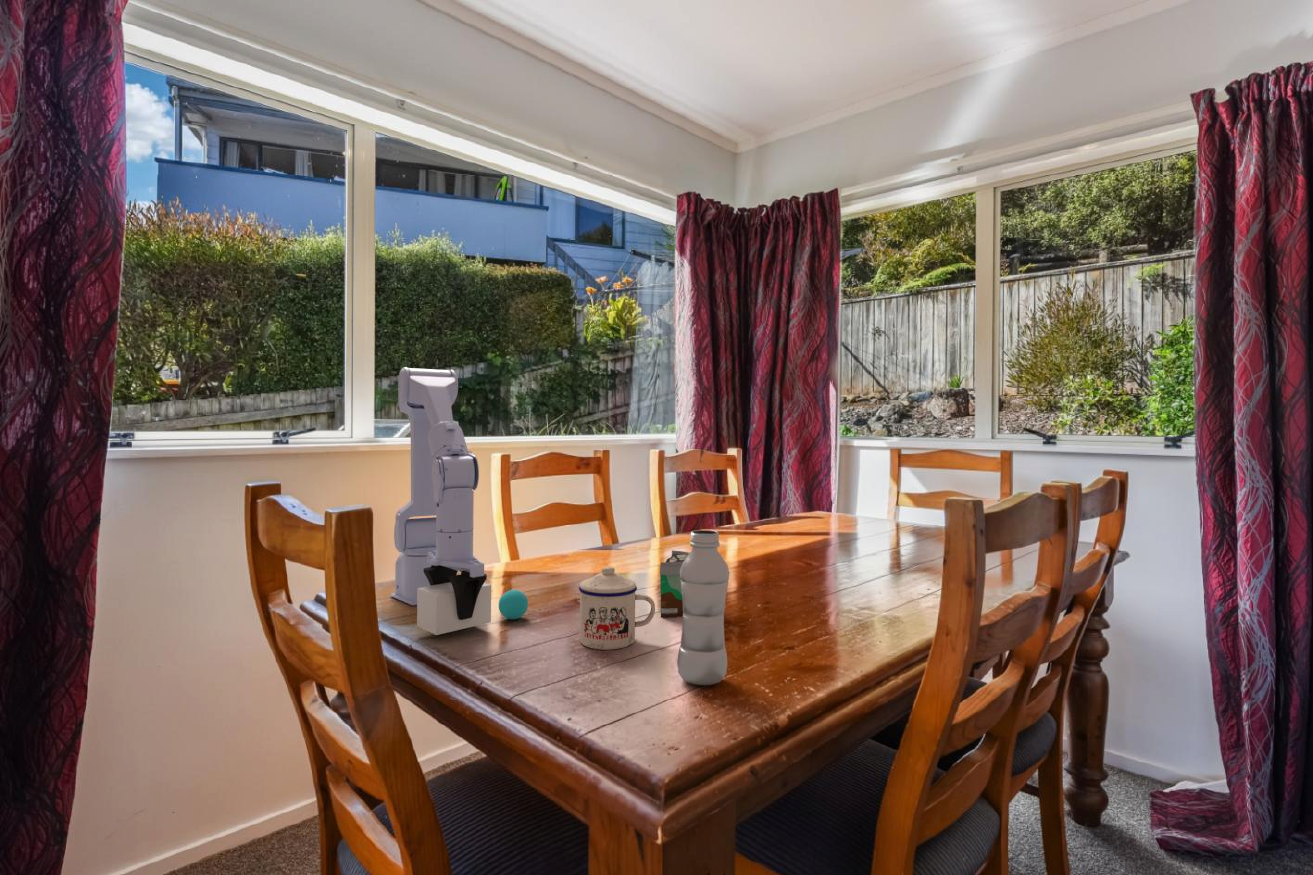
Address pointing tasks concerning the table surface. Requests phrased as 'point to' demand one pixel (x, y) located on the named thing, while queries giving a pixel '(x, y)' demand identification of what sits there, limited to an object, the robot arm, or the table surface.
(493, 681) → the table surface
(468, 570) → the robot arm
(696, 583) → the plastic bottle
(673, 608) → the food container
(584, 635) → the teacup with lid
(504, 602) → the ball
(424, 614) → the white block
